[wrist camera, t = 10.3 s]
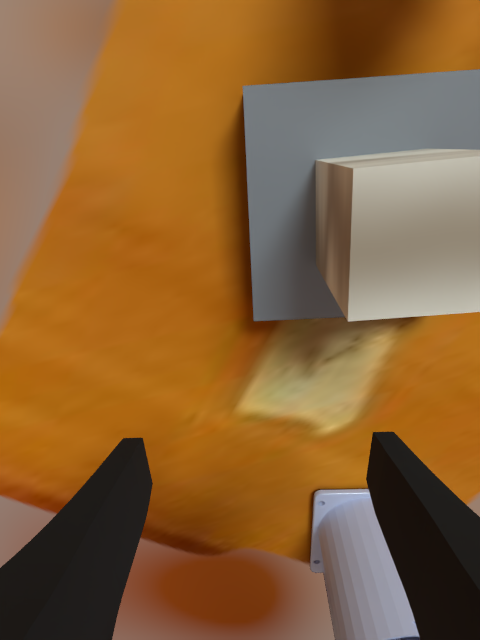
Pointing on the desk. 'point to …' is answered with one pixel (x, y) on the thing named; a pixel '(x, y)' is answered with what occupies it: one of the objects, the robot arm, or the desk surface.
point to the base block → (324, 143)
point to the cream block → (400, 232)
